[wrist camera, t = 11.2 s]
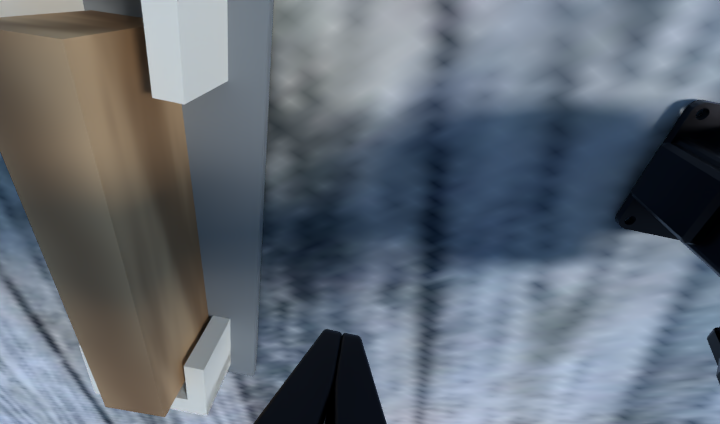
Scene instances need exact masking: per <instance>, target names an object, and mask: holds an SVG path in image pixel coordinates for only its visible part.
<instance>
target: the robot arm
mask: <svg viewBox="0 0 720 424" xmlns="http://www.w3.org/2000/svg"><path fill="white" fill-rule="evenodd" d="M701 109H703V112H702V113H701V114H700V115H699V116H697V117H695V116H696V113H697V112H698V111H699V110H701ZM630 216H631V218H630V219H629V220H626V221H625V219H626V218H627V217H630ZM615 219H616V222H617V223H618V224H619V225H620V226H621V227H622V228H624V229H629V230H634V231H639V232H643V233H648V234H653V235H658V236H663V237H667V238H672V239H677V240H680V241H681V242H682V243H683V244H684V245H686V246H687V247H688V248H689V249H690V250H691V251H692V252H693V253H694V254H695V255H696V256H697V257H699V258H700V259H701V260H702V261H703V262H704V263H705V264H706V265H707V266H708V267H709V268H711V269H712V270H713V271H714V272H715V273H716V274H717V275H718V276H719V277H720V103H715V102H711V101H706V100H697V101H694V102H692V103H691V104H689V105H688V106H687V107H686V109H685V110H684V111H683V113H682V115H681V116H680V118H679V119H678V121H677V122H676V124H675V125H674V127H673V128H672V130H671V131H670V133H669V135H668V136H667V138H666V139H665V141H664V142H663V144H662V145H661V146H660V147H659V149H658V151H657V152H656V154H655V155H654V157H653V158H652V160H651V161H650V163H649V164H648V166H647V168H646V169H645V171H644V172H643V174H642V175H641V177H640V178H639V180H638V181H637V183H636V184H635V186H634V188H633V189H632V191H631V193H630V195H629V196H628V198H627V199H626V201H625V202H624V204H623V205H622V207H621V208H620V210H619V211H618V213H617V215H616V217H615ZM707 340H708V342H709V345H710V347H711V350H712V352H713V355H714V357H715V360H716V362H717V365H718V369H717V375H716V376H717V378H718V381H719V384H720V327H719V328H714V329H713V331H712V332H711V333H710V334H709V336H708V337H707ZM324 421H325V422H324ZM254 424H387V423H386V420H385V417H384V413H383V410H382V407H381V403H380V400H379V397H378V393H377V390H376V387H375V383H374V380H373V377H372V373H371V370H370V367H369V363H368V360H367V357H366V353H365V350H364V346H363V343H362V340H361V338H360V337H359V336H358V335H353V334H348V333H344V334H343V335H342V334H341V333H340V332H338V331H333V330H329V329H326V330H324V331H323V332H322V333H321V335H320V336H319V337H318V339H317V340H316V341H315V343H314V344H313V345H312V347H311V348H310V349H309V350H308V352H307V353H306V354H305V356H304V357H303V358H302V360H301V361H300V362H299V364H298V365H297V366H296V368H295V369H294V370H293V372H292V373H291V374H290V376H289V377H288V378H287V380H286V381H285V382H284V384H283V385H282V386H281V388H280V389H279V390H278V392H277V393H276V394H275V396H274V397H273V398H272V400H271V401H270V402H269V404H268V405H267V406H266V408H265V409H264V410H263V412H262V413H261V414H260V416H259V417H258V418H257V420H256V421H255V422H254Z"/></svg>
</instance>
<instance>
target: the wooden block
mask: <svg viewBox="0 0 720 424" xmlns="http://www.w3.org/2000/svg"><path fill="white" fill-rule="evenodd" d="M0 152H1V154H2V157H3V159H4V162H5V164H6V166H7V169H8V171H9V174H10V176H11V179H12V181H13V183H14V186H15V188H16V191H17V193H18V196H19V198H20V200H21V203H22V205H23V208H24V210H25V212H26V215H27V217H28V220H29V222H30V225H31V227H32V229H33V232H34V234H35V237H36V239H37V242H38V244H39V246H40V249H41V251H42V254H43V256H44V259H45V261H46V263H47V266H48V268H49V271H50V273H51V276H52V278H53V280H54V283H55V285H56V288H57V290H58V292H59V295H60V297H61V300H62V302H63V305H64V307H65V309H66V312H67V314H68V317H69V319H70V322H71V324H72V326H73V329H74V331H75V334H76V336H77V339H78V341H79V343H80V346H81V348H82V351H83V353H84V356H85V358H86V360H87V363H88V365H89V368H90V370H91V372H92V375H93V377H94V380H95V382H96V385H97V387H98V389H99V392H100V394H101V397H102V399H103V402H104V404H105V406H106V407H109V408H115V409H121V410H127V411H133V412H138V413H144V414H150V415H156V416H162V417H165V416H166V414H167V413H168V411H169V409H170V407H171V405H172V404H173V402H174V400H175V398H176V396H177V395H178V393H179V391H180V389H181V387H182V385H183V384H184V382H185V373H184V365H185V363H186V361H187V360H188V358H189V356H190V354H191V353H192V351H193V349H194V348H195V346H196V344H197V342H198V341H199V339H200V337H201V335H202V334H203V332H204V330H205V329H206V327H207V325H208V323H209V315H208V307H207V300H206V292H205V284H204V276H203V268H202V260H201V253H200V245H199V237H198V229H197V221H196V213H195V206H194V198H193V190H192V182H191V174H190V166H189V159H188V151H187V143H186V135H185V127H184V119H183V112H182V104H179V103H175V102H170V101H165V100H160V99H155V98H152V91H151V83H150V74H149V66H148V57H147V49H146V40H145V32H144V23H143V18H140V17H133V16H127V15H120V14H114V13H107V12H100V11H94V10H88V11H75V12H62V13H50V14H37V15H24V16H11V17H0Z"/></svg>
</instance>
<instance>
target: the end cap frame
mask: <svg viewBox="0 0 720 424" xmlns="http://www.w3.org/2000/svg"><path fill="white" fill-rule="evenodd" d="M273 6H274V0H0V17H11V16H24V15H37V14H50V13H62V12H75V11H88V10H94V11H100V12H107V13H114V14H120V15H127V16H133V17H140V18H143V23H144V32H145V40H146V49H147V57H148V66H149V74H150V83H151V91H152V98H155V99H160V100H165V101H170V102H175V103H179V104H182V112H183V119H184V127H185V135H186V143H187V151H188V159H189V166H190V174H191V182H192V190H193V198H194V206H195V213H196V221H197V229H198V237H199V245H200V253H201V260H202V268H203V276H204V284H205V292H206V300H207V307H208V315H209V323H208V325H207V327H206V329H205V330H204V332H203V334H202V335H201V337H200V339H199V341H198V342H197V344H196V346H195V348H194V349H193V351H192V353H191V354H190V356H189V358H188V360H187V361H186V363H185V365H184V373H185V382H184V384H183V385H182V387H181V389H180V391H179V393H178V395H177V396H176V398H175V400H174V402H173V404H172V405H171V407H170V409H174V410H178V411H183V412H188V413H193V414H198V415H203V416H207V415H208V413H209V411H210V408H211V406H212V404H213V402H214V400H215V397H216V395H217V393H218V391H219V389H220V387H221V384H222V382H223V380H224V378H225V376H226V373H227V371H228V372H233V373H238V374H242V375H247V376H252V377H253V376H254V373H255V371H256V355H257V335H258V314H259V294H260V273H261V253H262V232H263V211H264V191H265V170H266V150H267V129H268V109H269V88H270V67H271V47H272V26H273ZM79 347H80V350H81V353H82V356H83V359H84V362H85V365H86V368H87V371H88V374H89V376H90V379H91V382H92V385H93V388H94V391H95V394H99V395H101V394H100V392H99V389H98V387H97V385H96V382H95V380H94V377H93V375H92V372H91V370H90V368H89V365H88V363H87V360H86V358H85V356H84V353H83V351H82V348H81V346H80V344H79Z"/></svg>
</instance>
